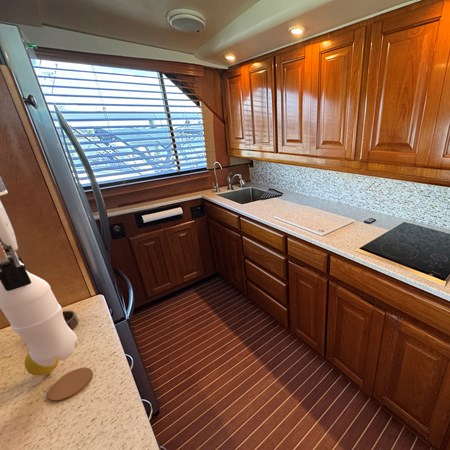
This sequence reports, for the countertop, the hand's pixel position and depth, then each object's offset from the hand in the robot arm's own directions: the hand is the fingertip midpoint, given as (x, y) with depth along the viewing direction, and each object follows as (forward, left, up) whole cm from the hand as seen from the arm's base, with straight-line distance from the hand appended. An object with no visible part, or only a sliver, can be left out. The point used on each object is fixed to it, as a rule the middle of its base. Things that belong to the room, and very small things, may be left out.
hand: (17, 281), depth 46 cm
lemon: (-8, +4, -29) cm, 30 cm away
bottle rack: (-17, +19, -29) cm, 39 cm away
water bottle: (0, 0, -20) cm, 20 cm away
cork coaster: (0, 0, -29) cm, 29 cm away
